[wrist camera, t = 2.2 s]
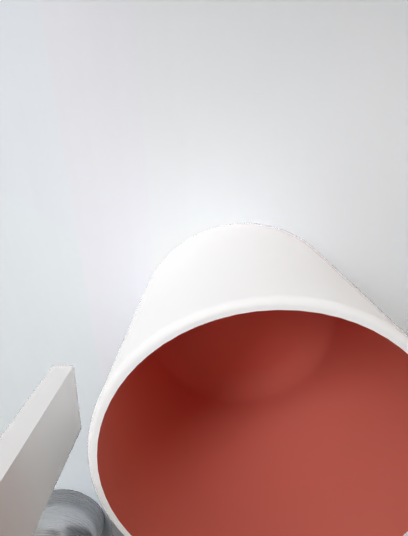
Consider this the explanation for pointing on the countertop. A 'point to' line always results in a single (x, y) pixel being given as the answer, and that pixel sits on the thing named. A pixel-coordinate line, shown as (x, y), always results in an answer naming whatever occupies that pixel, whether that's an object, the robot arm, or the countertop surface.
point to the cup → (254, 399)
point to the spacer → (70, 515)
